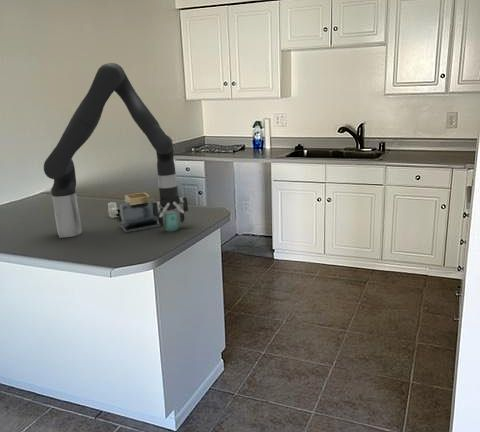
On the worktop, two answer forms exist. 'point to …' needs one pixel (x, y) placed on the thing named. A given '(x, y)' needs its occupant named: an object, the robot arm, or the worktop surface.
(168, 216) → the mint green rounded block
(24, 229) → the worktop surface
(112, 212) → the valve
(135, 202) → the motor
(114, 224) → the worktop surface
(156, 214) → the robot arm
